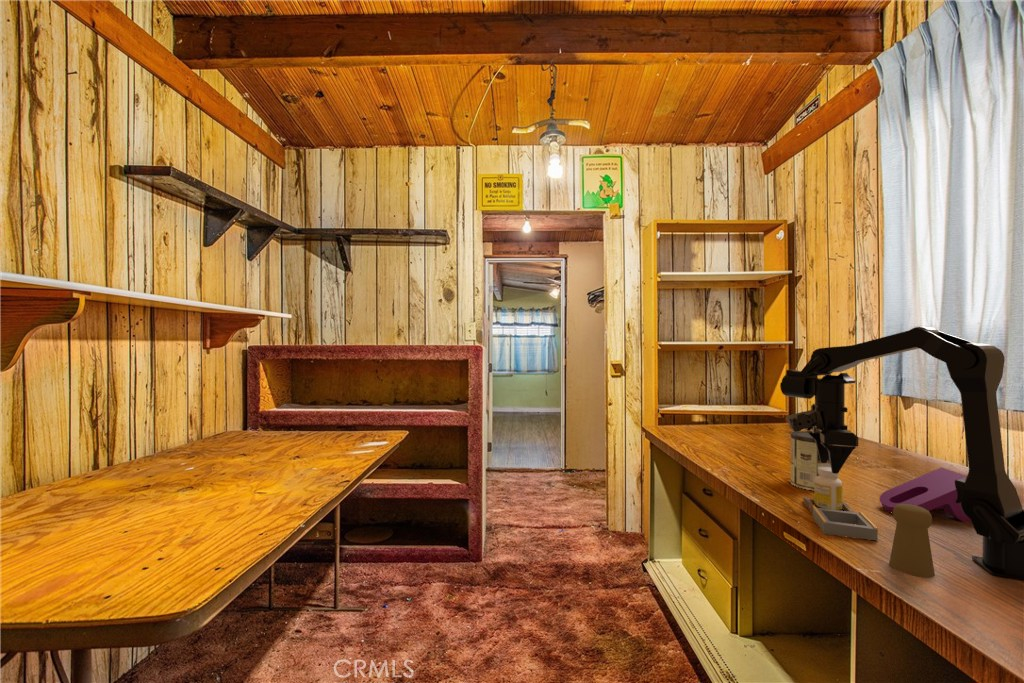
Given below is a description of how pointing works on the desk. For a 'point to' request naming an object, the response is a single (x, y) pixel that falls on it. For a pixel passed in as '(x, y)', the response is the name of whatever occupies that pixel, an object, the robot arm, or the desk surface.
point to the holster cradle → (810, 505)
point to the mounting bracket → (928, 493)
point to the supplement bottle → (827, 490)
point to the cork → (912, 541)
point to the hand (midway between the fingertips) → (829, 467)
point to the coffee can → (804, 460)
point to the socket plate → (845, 523)
